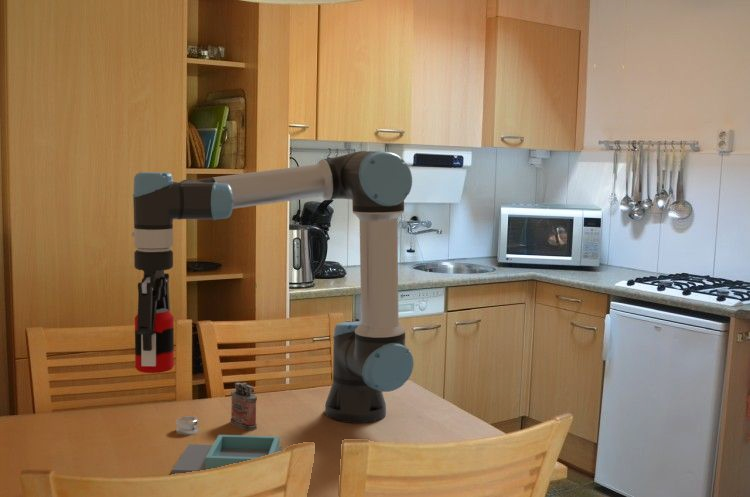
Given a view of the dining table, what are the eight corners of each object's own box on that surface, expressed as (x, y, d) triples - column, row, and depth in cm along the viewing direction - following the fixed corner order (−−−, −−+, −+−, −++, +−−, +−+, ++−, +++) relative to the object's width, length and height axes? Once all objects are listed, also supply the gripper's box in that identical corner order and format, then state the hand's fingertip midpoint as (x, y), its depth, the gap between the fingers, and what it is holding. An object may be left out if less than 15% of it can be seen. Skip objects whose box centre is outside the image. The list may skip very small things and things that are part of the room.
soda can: (177, 363, 165) (177, 307, 164) (169, 373, 158) (168, 314, 156) (140, 363, 165) (140, 306, 163) (130, 373, 157) (130, 314, 156)
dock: (282, 451, 169) (282, 435, 169) (273, 477, 155) (273, 460, 155) (188, 448, 169) (188, 433, 169) (172, 474, 155) (172, 457, 155)
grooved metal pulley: (189, 436, 177) (202, 429, 181) (189, 423, 177) (203, 417, 181) (171, 432, 179) (185, 426, 184) (171, 420, 179) (185, 413, 183)
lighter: (227, 422, 187) (227, 381, 186) (238, 419, 189) (239, 378, 188) (248, 431, 181) (248, 388, 180) (260, 427, 184) (260, 386, 183)
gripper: (149, 243, 169) (151, 347, 171) (118, 255, 148) (119, 373, 151) (184, 244, 169) (185, 348, 171) (157, 256, 148) (159, 374, 151)
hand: (154, 360), depth 161 cm, fingers closed on soda can, 7 cm apart
